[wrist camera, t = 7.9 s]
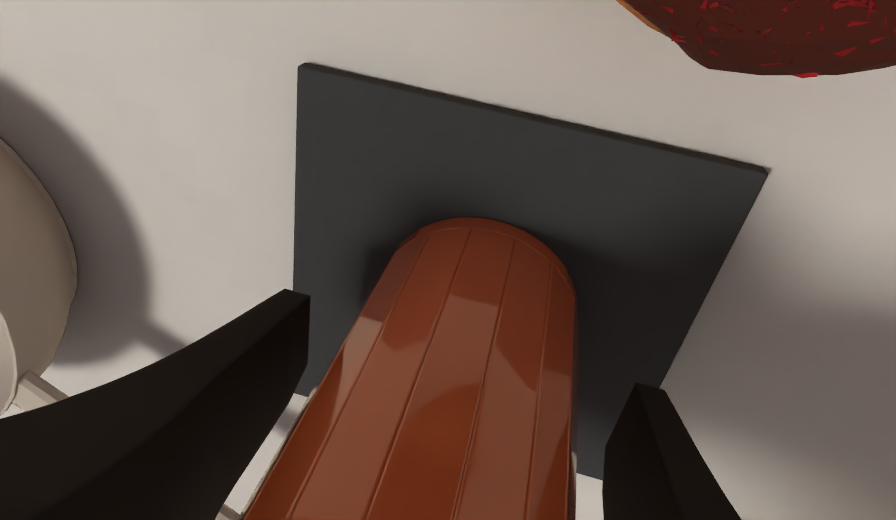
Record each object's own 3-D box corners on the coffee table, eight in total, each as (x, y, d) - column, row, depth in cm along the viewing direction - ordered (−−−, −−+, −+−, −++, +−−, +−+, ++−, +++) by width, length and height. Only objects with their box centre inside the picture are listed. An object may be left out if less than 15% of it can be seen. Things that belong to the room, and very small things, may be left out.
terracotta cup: (548, 399, 16) (519, 762, 9) (373, 351, 16) (221, 664, 9) (605, 245, 13) (624, 601, 6) (393, 193, 13) (199, 474, 7)
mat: (610, 472, 17) (611, 483, 17) (295, 383, 18) (290, 392, 18) (764, 166, 12) (769, 174, 11) (304, 61, 13) (296, 66, 12)
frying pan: (-237, -66, 14) (-488, -59, 11) (375, 353, 17) (324, 459, 13) (-221, 230, 19) (-381, 293, 16) (235, 505, 22) (176, 605, 19)
